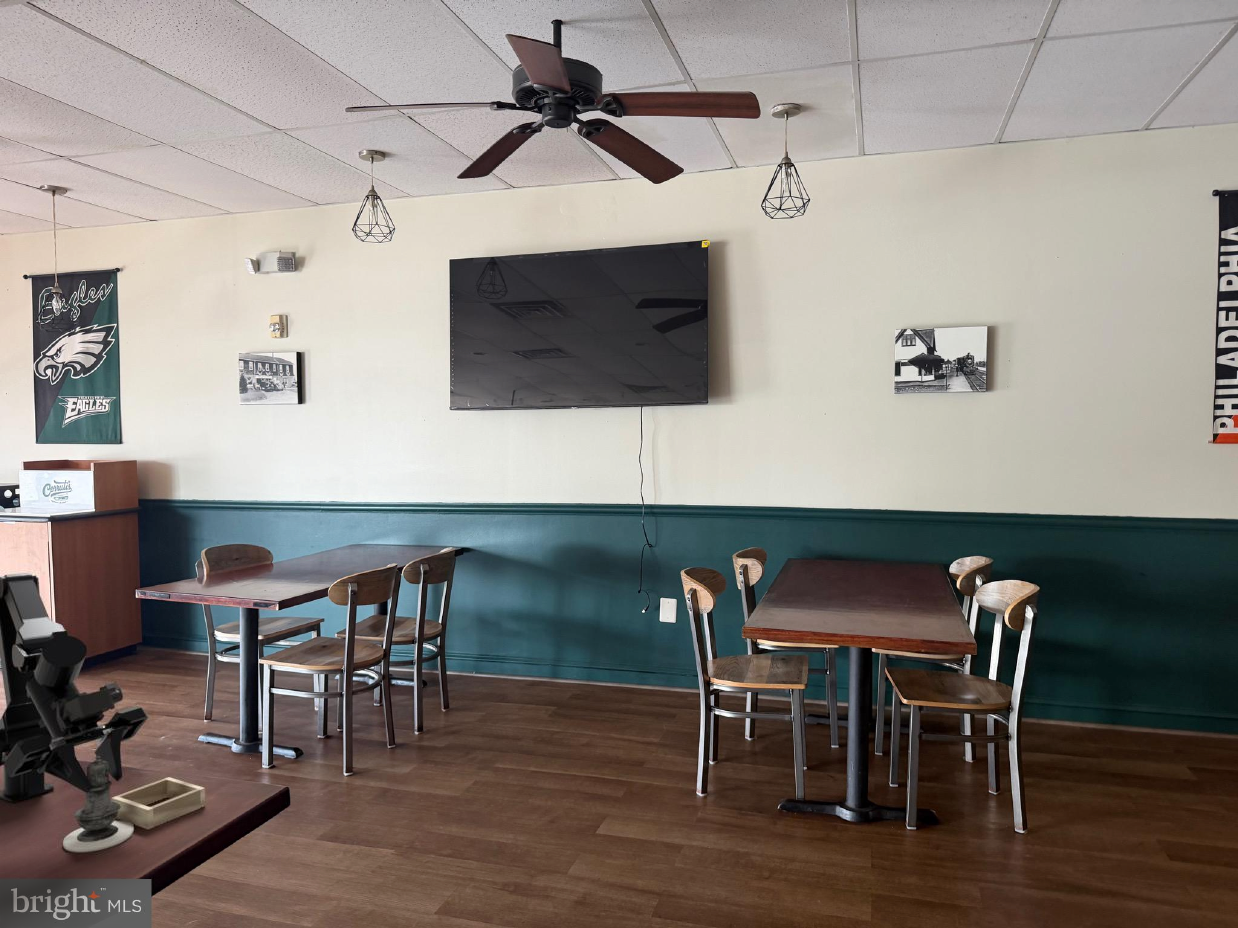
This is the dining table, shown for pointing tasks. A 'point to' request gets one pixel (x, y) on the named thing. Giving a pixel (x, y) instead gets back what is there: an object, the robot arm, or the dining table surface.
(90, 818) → the grey tall domed piece
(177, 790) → the birch holder
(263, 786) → the dining table surface
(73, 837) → the coaster
